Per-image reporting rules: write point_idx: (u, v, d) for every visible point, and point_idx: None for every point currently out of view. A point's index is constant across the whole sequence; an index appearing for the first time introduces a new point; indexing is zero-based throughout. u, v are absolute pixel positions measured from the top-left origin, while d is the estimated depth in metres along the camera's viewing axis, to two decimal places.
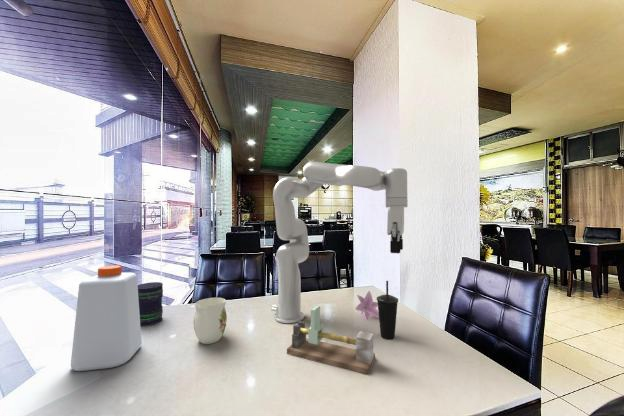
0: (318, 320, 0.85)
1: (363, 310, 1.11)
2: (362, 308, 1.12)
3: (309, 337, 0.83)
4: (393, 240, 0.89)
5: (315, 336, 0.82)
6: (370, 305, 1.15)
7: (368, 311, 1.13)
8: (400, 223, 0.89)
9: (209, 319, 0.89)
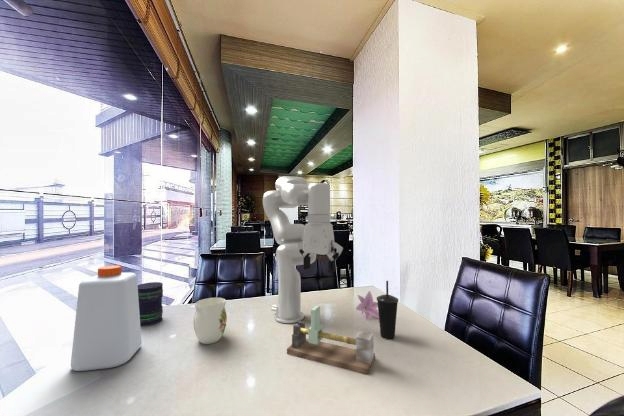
0: (318, 320, 0.85)
1: (363, 310, 1.11)
2: (362, 308, 1.12)
3: (309, 337, 0.83)
4: (334, 259, 0.85)
5: (315, 336, 0.82)
6: (370, 305, 1.15)
7: (369, 311, 1.13)
8: None
9: (209, 319, 0.89)
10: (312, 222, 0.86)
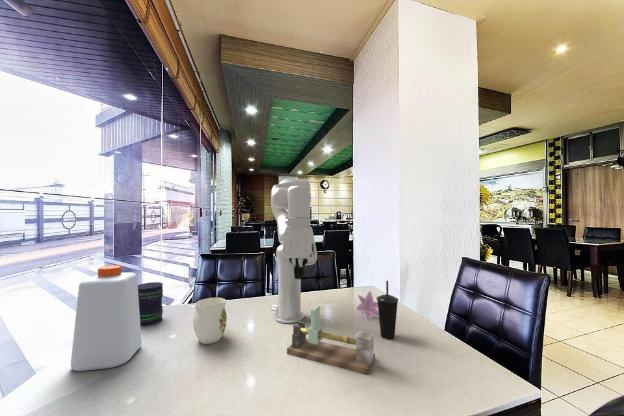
0: (318, 320, 0.85)
1: (364, 310, 1.11)
2: (363, 308, 1.11)
3: (309, 337, 0.83)
4: None
5: (315, 336, 0.82)
6: (371, 305, 1.15)
7: (369, 311, 1.13)
8: (314, 244, 0.87)
9: (209, 319, 0.89)
10: (292, 225, 0.85)
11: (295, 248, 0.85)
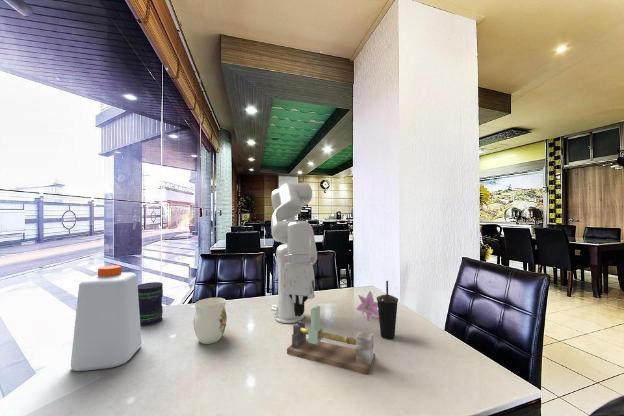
0: (318, 320, 0.85)
1: (364, 310, 1.11)
2: (363, 308, 1.11)
3: (309, 337, 0.83)
4: None
5: (315, 336, 0.82)
6: (371, 305, 1.15)
7: (369, 311, 1.13)
8: (314, 280, 0.87)
9: (209, 319, 0.89)
10: (292, 262, 0.84)
11: (295, 285, 0.85)
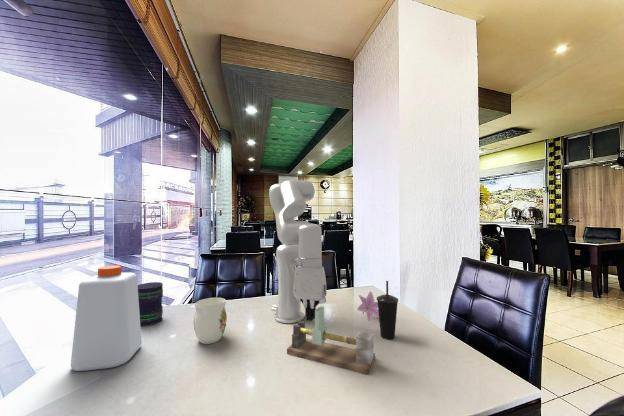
0: (322, 321, 0.85)
1: (365, 310, 1.11)
2: (364, 308, 1.11)
3: (313, 338, 0.83)
4: None
5: (319, 337, 0.82)
6: (372, 305, 1.15)
7: (370, 311, 1.12)
8: (325, 284, 0.85)
9: (209, 319, 0.89)
10: (304, 266, 0.83)
11: (307, 289, 0.83)
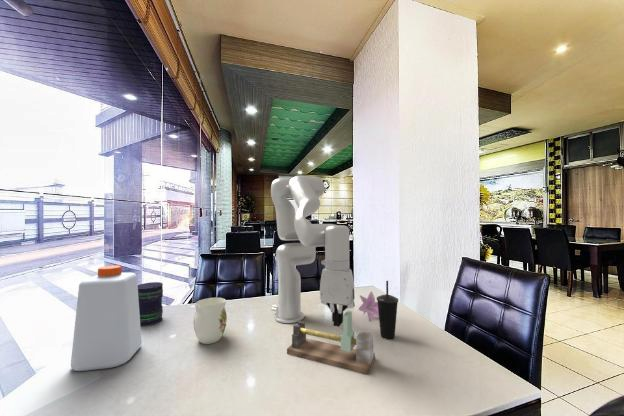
0: (350, 326, 0.81)
1: (366, 310, 1.11)
2: (365, 308, 1.11)
3: (341, 344, 0.79)
4: None
5: (348, 343, 0.78)
6: (372, 305, 1.15)
7: (371, 312, 1.12)
8: None
9: (209, 319, 0.89)
10: (332, 269, 0.79)
11: (334, 294, 0.79)
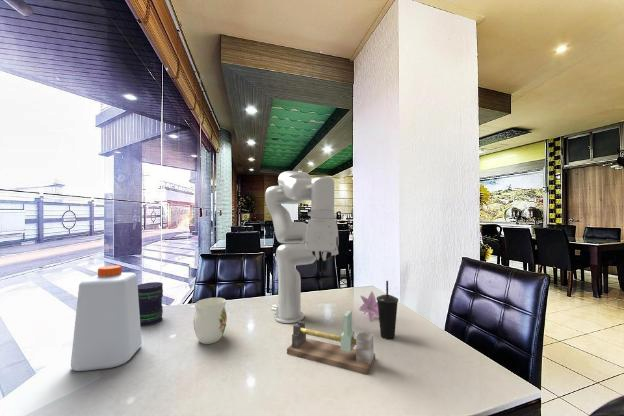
0: (350, 326, 0.81)
1: (367, 311, 1.11)
2: (366, 309, 1.11)
3: (341, 344, 0.79)
4: None
5: (348, 343, 0.78)
6: (373, 305, 1.15)
7: (372, 312, 1.12)
8: None
9: (209, 319, 0.89)
10: (317, 218, 0.83)
11: (319, 241, 0.83)
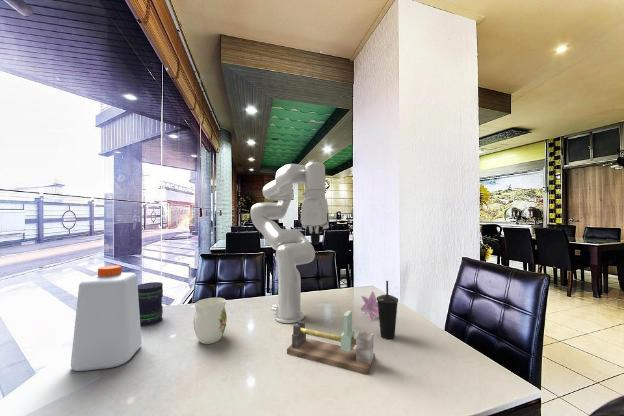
0: (350, 326, 0.81)
1: (368, 311, 1.10)
2: (367, 309, 1.11)
3: (341, 344, 0.79)
4: (318, 233, 0.99)
5: (348, 343, 0.78)
6: (374, 306, 1.14)
7: (373, 312, 1.12)
8: None
9: (209, 319, 0.89)
10: (310, 197, 0.97)
11: (312, 217, 0.97)
